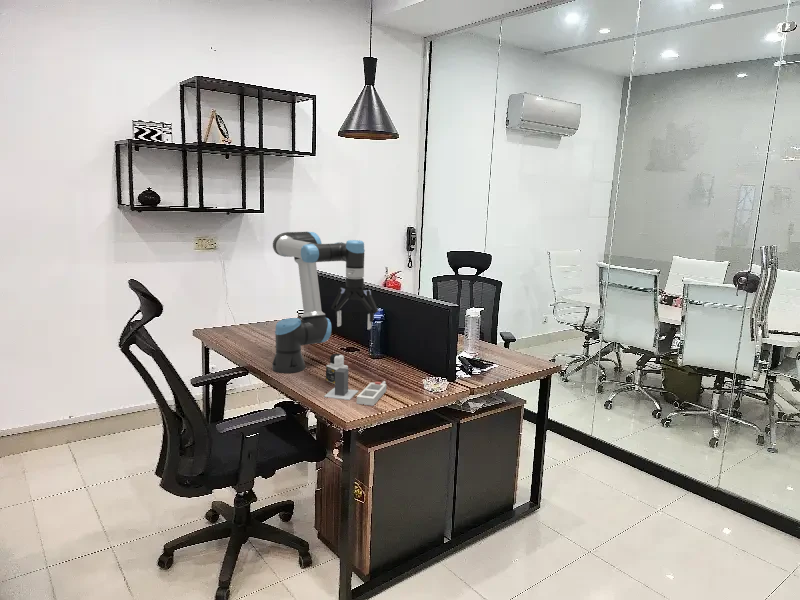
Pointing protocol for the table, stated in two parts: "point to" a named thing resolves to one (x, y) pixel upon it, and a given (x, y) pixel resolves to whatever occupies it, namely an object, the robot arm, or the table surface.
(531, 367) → the table surface
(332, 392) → the mat
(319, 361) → the table surface
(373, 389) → the power strip
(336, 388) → the block
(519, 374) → the table surface
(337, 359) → the medicine bottle
